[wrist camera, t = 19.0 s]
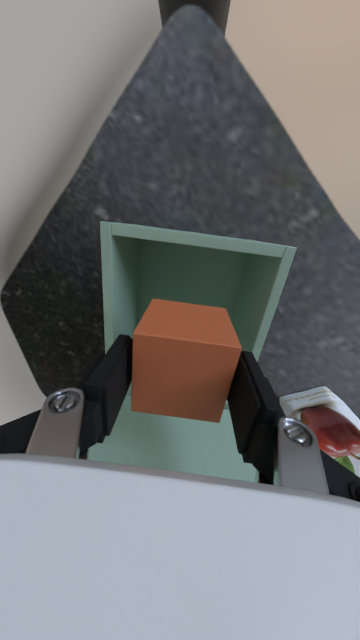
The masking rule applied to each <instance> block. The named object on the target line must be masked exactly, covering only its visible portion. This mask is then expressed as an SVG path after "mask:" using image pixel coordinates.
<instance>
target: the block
mask: <svg viewBox="0 0 360 640" xmlns="http://www.w3.org/2000/svg"><path fill="white" fill-rule="evenodd" d="M241 349H242V347H241V344H240V342H239V339H238V337H237V335H236V332H235V330H234V327H233V325H232V323H231V320H230V318H229V315H228V313H227V311H226V308H220V307H213V306H205V305H198V304H191V303H183V302H176V301H168V300H161V299H152V301H151V303H150V304H149V306H148V308H147V310H146V311H145V313H144V315H143V317H142V318H141V320H140V322H139V324H138V325H137V327H136V329H135V331H134V332H133V350H132V387H131V411H134V412H142V413H149V414H157V415H164V416H171V417H179V418H186V419H193V420H201V421H208V422H215V423H220V420H221V417H222V413H223V410H224V407H225V403H226V400H227V397H228V393H229V390H230V386H231V383H232V380H233V376H234V373H235V370H236V366H237V363H238V360H239V356H240V353H241Z"/></svg>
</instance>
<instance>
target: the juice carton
mask: <svg viewBox="0 0 360 640" xmlns="http://www.w3.org/2000/svg"><path fill="white" fill-rule="evenodd" d="M279 400H280V405H281V407H282V409H283V411H284V413H285V415H286V416H287V417H293V418H296V419H298V420H300V421H302V422H303V423H305V424H306V425H307V426H308V427H309V428H310V429H311V430H312V431H313V432H314V434H315V435H316V438H317V440H318V445H319V449H321V450H322V451H324V452H325V453H326V454H328V455H329V456H331V457H332V458H333V459H335V460H336V461H338V462H339V463H340V464H342V465H343V466H344V467H346V468H347V469H349V470H350V471H351V472H353V473H354V474H356V475H357V476H358V477H360V420H359V419H358V418H357V417H356V415H355V414H354V413H353V412H352V411H351V410H350V409H349V407H348V406H347V405H346V404H345V403H344V402H343V401H342V400H341V399H340V398H339V397H337V396H336V395H335V394H334V393H333V392H332V391H330V390H329V389H328V388H327V387H325V386H321V387H317V388H313V389H309V390H306V391H303V392H298V393H293V394H289V395H285V396H281V397H280V398H279Z"/></svg>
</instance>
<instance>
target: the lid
mask: <svg viewBox="0 0 360 640" xmlns="http://www.w3.org/2000/svg"><path fill="white" fill-rule="evenodd" d="M89 460H93V461H100V462H108V463H116V464H123V465H131V466H139V467H146V468H154V469H161V470H169V471H176V472H183V473H191V474H198V475H205V476H213V477H220V478H227V479H234V480H241V481H248V482H255V476H256V468H255V467H254V466H253V465H252V464H250V463H244V462H243V458H242V454H239V453H238V450H237V445H236V440H235V435H234V430H233V425H232V420H231V416H230V411H229V410H227V409H224V410H223V413H222V417H221V420H220V423H215V422H208V421H201V420H193V419H186V418H179V417H171V416H164V415H157V414H149V413H142V412H134V411H131V396H125V399H124V401H123V404H122V406H121V409H120V411H119V414H118V416H117V419H116V421H115V424H114V426H113V429H112V431H111V434H110V436H105V439H104V441H103V444H102V443H96V444H95V445H93V446H92V447H90V452H89Z"/></svg>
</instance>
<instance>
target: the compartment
mask: <svg viewBox="0 0 360 640" xmlns="http://www.w3.org/2000/svg"><path fill="white" fill-rule="evenodd" d="M100 234H101V258H102V283H103V308H104V332H105V354H106V353H107V351H108V350H109V348H110V347H111V346H112V344H113V343H114V341H115V340H116V338H117V337H118V336H119V334H123V335H130V338H133V332H134V331H135V329H136V327H137V325H138V324H139V322H140V320H141V318H142V317H143V315H144V313H145V311H146V310H147V308H148V306H149V304H150V303H151V301H152V299H161V300H168V301H176V302H183V303H191V304H198V305H205V306H213V307H220V308H226V311H227V313H228V315H229V318H230V320H231V323H232V325H233V327H234V330H235V332H236V335H237V337H238V339H239V342H240V344H241V347H242V349H241V351H249V352H252V353H253V355H254V357H255V359H256V361H257V362H258V359H259V356H260V353H261V350H262V347H263V344H264V341H265V339H266V336H267V333H268V330H269V327H270V324H271V321H272V318H273V315H274V313H275V310H276V307H277V304H278V301H279V298H280V295H281V292H282V289H283V286H284V284H285V281H286V278H287V275H288V272H289V269H290V266H291V263H292V260H293V258H294V255H295V252H296V249H297V248H296V247H291V246H285V245H279V244H273V243H267V242H261V241H255V240H248V239H240V238H233V237H225V236H218V235H210V234H203V233H195V232H188V231H181V230H173V229H166V228H158V227H151V226H143V225H136V224H125V223H115V222H105V221H100ZM131 387H132V381H131V384H130V387H129V389H128V391H127V394H126V395H129V396H131ZM224 408H225V409H229V406H228V401H227V400H226V403H225V407H224Z"/></svg>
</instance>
